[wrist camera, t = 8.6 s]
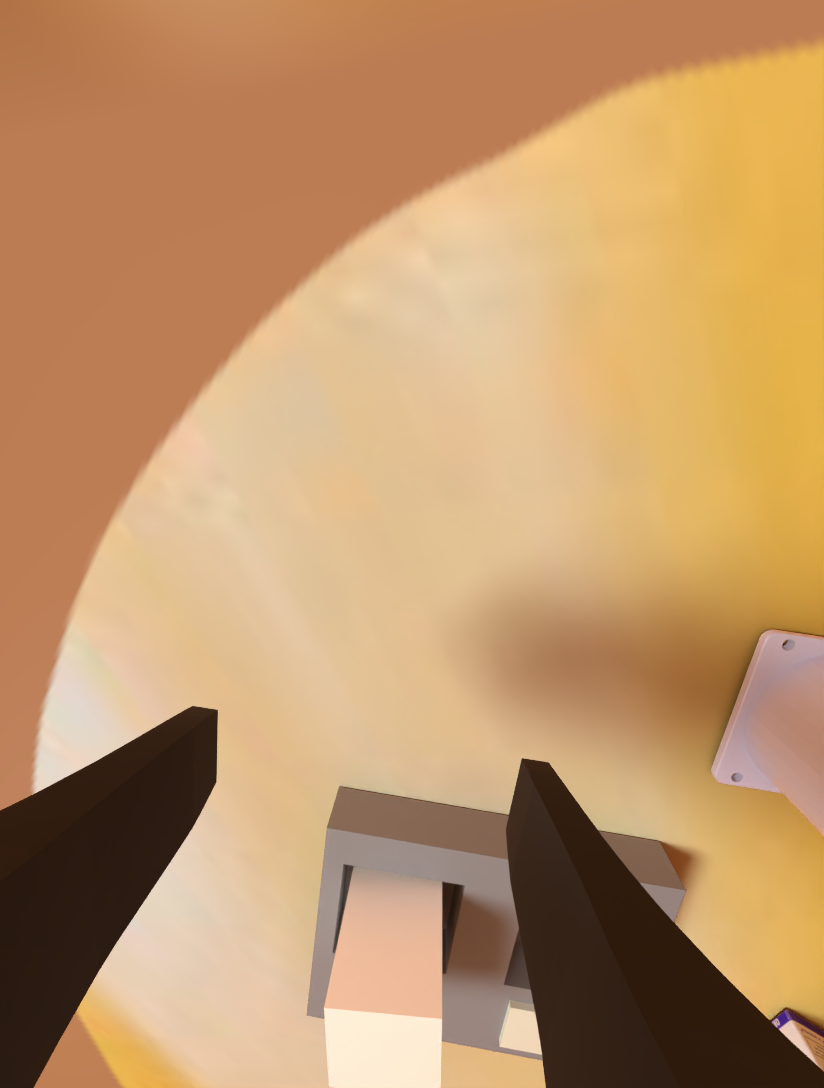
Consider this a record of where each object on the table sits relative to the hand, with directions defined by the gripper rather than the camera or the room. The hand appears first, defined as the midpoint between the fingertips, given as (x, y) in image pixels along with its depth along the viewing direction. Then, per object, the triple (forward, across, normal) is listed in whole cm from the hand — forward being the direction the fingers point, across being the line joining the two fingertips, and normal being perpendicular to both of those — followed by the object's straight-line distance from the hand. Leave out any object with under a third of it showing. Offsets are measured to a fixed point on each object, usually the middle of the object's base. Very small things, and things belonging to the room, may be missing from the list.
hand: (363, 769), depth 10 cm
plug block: (+10, -2, +16) cm, 19 cm away
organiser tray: (+10, -6, +18) cm, 21 cm away
